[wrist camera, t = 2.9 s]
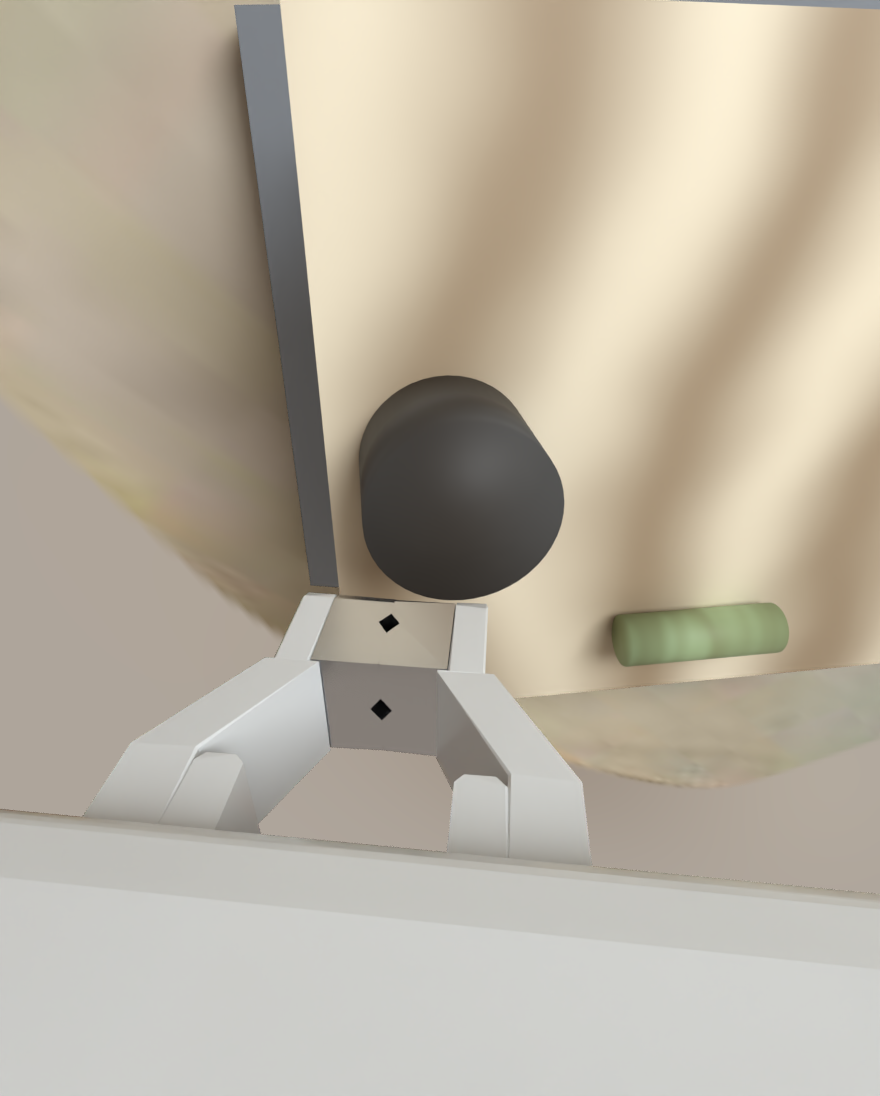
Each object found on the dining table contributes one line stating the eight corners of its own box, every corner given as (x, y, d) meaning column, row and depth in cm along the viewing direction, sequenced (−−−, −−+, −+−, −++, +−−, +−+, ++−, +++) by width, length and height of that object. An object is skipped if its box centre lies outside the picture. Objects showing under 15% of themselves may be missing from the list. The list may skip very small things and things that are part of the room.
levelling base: (1134, 7, 16) (1270, -26, 13) (849, 604, 27) (889, 659, 24) (254, 15, 18) (202, -12, 15) (319, 566, 29) (297, 612, 26)
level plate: (1192, 34, 14) (1481, -5, 10) (873, 639, 24) (966, 725, 20) (284, -1, 11) (258, -69, 8) (351, 687, 21) (353, 793, 18)
